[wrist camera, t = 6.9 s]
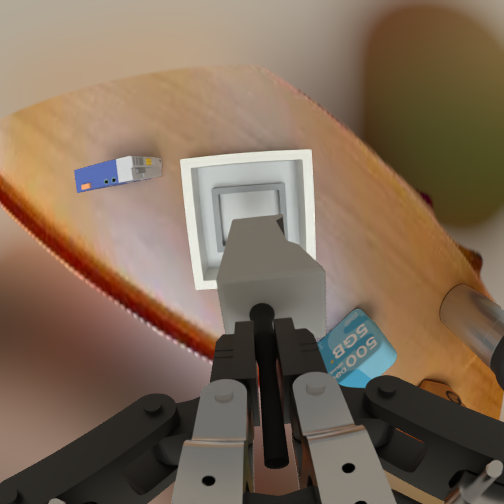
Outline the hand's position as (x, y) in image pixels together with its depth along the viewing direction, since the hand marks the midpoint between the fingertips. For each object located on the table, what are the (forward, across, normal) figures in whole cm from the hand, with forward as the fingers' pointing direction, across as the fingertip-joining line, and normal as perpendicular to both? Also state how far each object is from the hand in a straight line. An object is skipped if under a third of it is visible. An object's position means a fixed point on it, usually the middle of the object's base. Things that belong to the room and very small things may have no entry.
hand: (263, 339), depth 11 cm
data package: (+32, -14, +22) cm, 41 cm away
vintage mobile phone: (+19, -1, 0) cm, 19 cm away
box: (+32, 0, 0) cm, 32 cm away
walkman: (+32, +16, -8) cm, 37 cm away
